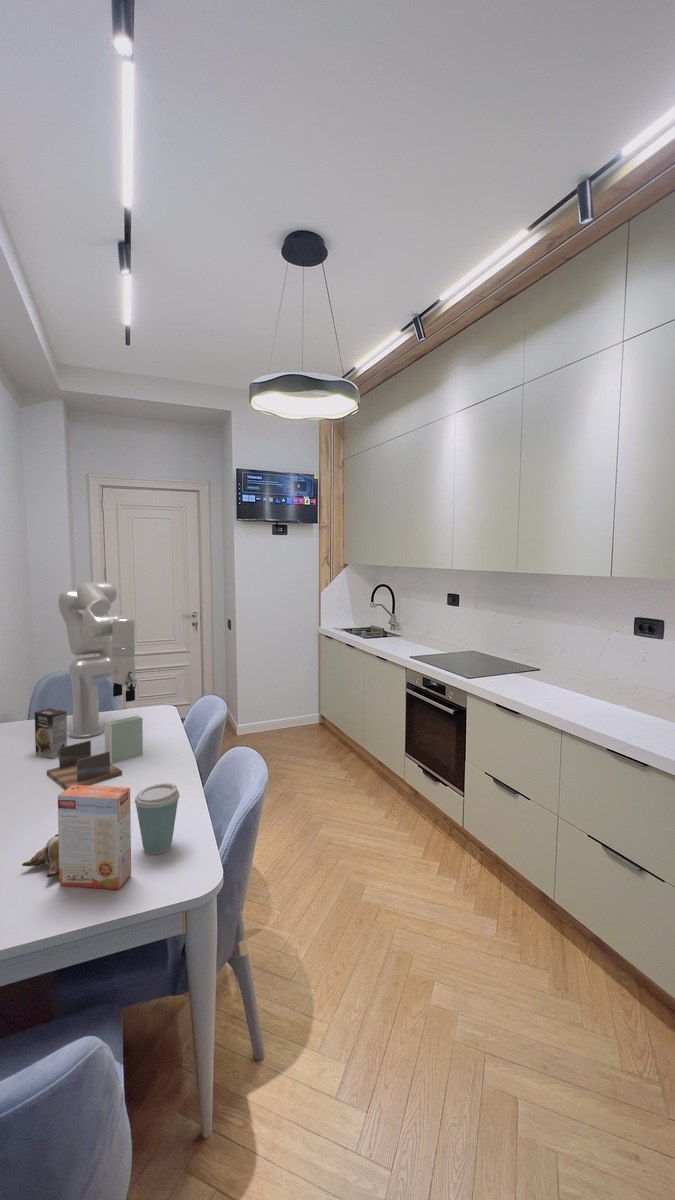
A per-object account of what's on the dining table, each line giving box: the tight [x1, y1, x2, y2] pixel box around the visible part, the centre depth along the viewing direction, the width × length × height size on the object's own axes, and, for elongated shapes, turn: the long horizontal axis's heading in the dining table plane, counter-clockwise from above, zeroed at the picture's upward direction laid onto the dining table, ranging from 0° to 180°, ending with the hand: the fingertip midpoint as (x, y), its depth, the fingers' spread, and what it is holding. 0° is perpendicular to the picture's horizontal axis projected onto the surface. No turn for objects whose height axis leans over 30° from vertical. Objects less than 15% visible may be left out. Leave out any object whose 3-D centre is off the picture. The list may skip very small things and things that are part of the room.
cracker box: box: [57, 785, 132, 890], centre depth 111 cm, size 14×6×21 cm, turn 84°
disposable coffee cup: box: [134, 782, 181, 855], centre depth 125 cm, size 11×11×15 cm
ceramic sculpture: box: [21, 834, 59, 879], centre depth 118 cm, size 11×9×15 cm
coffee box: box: [34, 708, 68, 760], centre depth 183 cm, size 9×6×16 cm
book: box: [104, 715, 144, 765], centre depth 181 cm, size 4×12×14 cm, turn 139°
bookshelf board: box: [46, 740, 123, 791], centre depth 166 cm, size 18×17×8 cm
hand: (123, 698), depth 180 cm, fingers open, 9 cm apart
